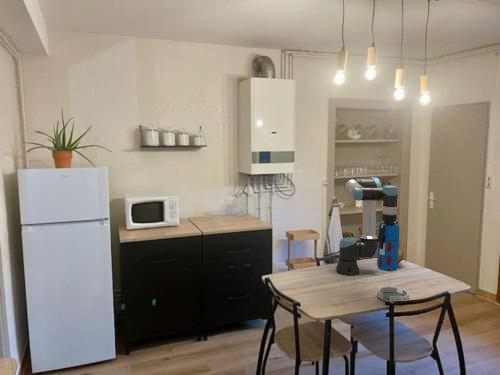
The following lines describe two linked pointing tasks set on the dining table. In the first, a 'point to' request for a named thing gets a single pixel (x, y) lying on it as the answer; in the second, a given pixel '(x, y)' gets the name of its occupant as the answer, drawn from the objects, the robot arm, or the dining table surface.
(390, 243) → the thermos
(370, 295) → the dining table surface
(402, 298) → the bayonet base
